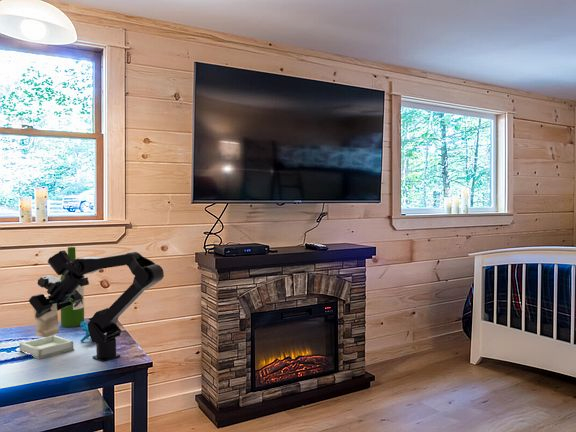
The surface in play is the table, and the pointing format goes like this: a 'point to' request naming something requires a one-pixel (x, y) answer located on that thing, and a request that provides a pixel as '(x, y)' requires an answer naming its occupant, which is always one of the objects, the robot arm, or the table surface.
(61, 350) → the sage tray
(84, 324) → the gear
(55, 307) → the maple block
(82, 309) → the wine bottle
